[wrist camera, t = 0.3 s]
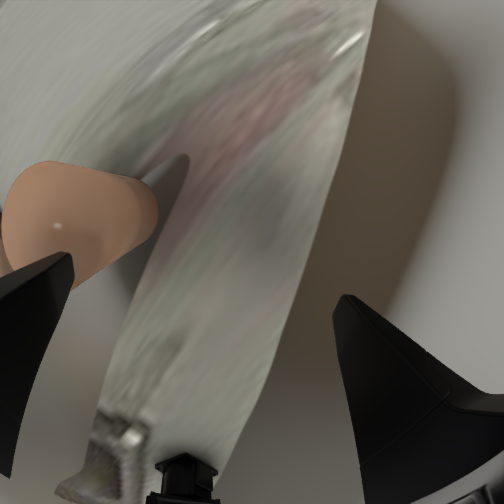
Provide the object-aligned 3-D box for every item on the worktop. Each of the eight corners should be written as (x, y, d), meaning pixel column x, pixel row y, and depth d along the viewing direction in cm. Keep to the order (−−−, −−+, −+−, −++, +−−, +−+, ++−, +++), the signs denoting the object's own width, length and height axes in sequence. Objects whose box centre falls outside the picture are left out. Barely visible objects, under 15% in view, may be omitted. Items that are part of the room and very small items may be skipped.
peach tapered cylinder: (122, 261, 22) (47, 318, 10) (83, 208, 21) (-13, 223, 9) (173, 217, 22) (125, 239, 10) (131, 162, 21) (53, 133, 9)
